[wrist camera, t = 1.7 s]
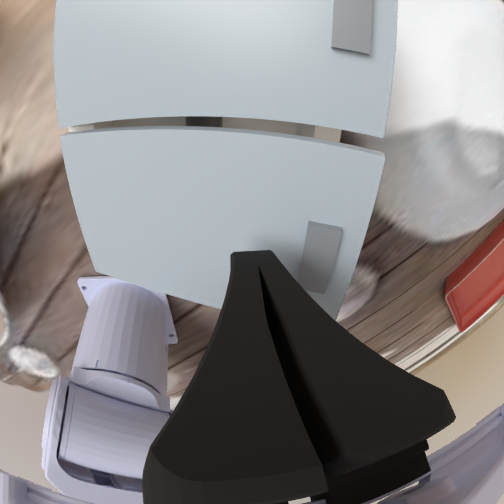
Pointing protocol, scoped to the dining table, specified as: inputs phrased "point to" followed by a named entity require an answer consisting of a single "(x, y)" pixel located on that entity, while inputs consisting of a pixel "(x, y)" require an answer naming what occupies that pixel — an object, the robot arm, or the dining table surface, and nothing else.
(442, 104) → the dining table surface
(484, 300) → the plant saucer
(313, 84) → the cover
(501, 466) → the robot arm
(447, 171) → the dining table surface
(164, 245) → the cover
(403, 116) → the dining table surface
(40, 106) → the dining table surface
